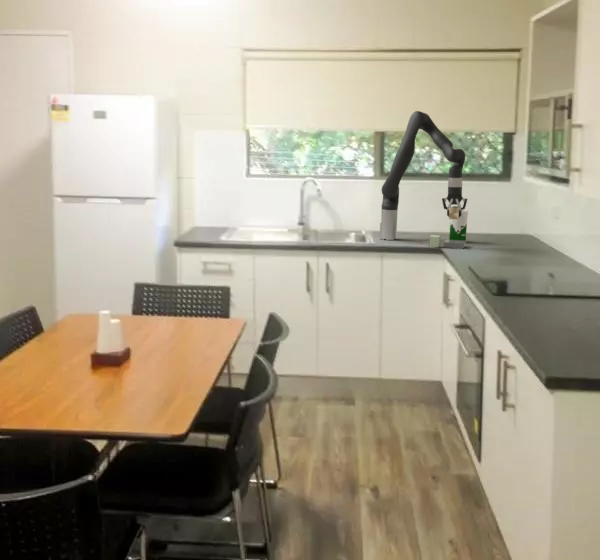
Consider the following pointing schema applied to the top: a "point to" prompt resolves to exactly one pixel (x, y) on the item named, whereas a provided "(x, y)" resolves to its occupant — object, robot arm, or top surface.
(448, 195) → the robot arm
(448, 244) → the slate base
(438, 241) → the sage block
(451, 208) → the maple block
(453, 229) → the soya milk
